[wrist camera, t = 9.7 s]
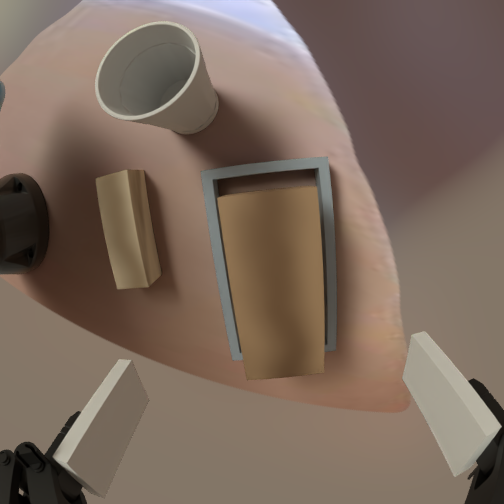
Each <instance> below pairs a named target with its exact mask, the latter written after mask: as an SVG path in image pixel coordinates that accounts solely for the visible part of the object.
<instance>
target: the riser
mask: <svg viewBox="0 0 504 504" xmlns="http://www.w3.org/2000/svg"><path fill="white" fill-rule="evenodd" d="M95 179H96V187H97V195H98V201H99V208H100V214H101V219H102V225H103V230H104V235H105V240H106V245H107V250H108V254H109V258H110V263H111V267H112V271H113V275H114V278H115V282H116V286H117V289H130V288H145V287H149V286H150V285H151V284H152V283H154V282H155V281H156V280H157V279H158V278H159V277H160V276H161V275H162V272H161V268H160V263H159V258H158V253H157V248H156V243H155V238H154V232H153V227H152V221H151V215H150V209H149V203H148V196H147V189H146V182H145V175H144V170H123V171H120V172H116V173H112V174H109V175H105V176H102V177H99V178H95Z"/></svg>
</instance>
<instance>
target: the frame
mask: <svg viewBox="0 0 504 504" xmlns="http://www.w3.org/2000/svg"><path fill="white" fill-rule="evenodd" d="M305 169H314V171H315V180H316V187H317V192H318V202H319V214H320V227H321V241H322V258H323V280H324V324H325V343H324V352H328V351H335V350H336V334H337V275H336V247H335V228H334V214H333V201H332V190H331V180H330V171H329V162H328V157H314V158H301V159H289V160H279V161H269V162H260V163H252V164H244V165H237V166H230V167H223V168H216V169H210V170H204V171H201V177H202V185H203V192H204V199H205V206H206V213H207V220H208V226H209V233H210V239H211V246H212V252H213V258H214V264H215V270H216V276H217V281H218V287H219V293H220V298H221V304H222V309H223V315H224V320H225V325H226V330H227V335H228V340H229V345H230V350H231V355H232V360H243V357H242V351H241V346H240V340H239V334H238V328H237V323H236V317H235V311H234V305H233V299H232V293H231V287H230V280H229V274H228V268H227V261H226V255H225V248H224V242H223V235H222V228H221V221H220V214H219V207H218V200H217V198H218V197H219V191H218V183H217V180H218V179H225V178H232V177H240V176H247V175H256V174H264V173H273V172H283V171H294V170H305Z"/></svg>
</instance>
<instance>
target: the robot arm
mask: <svg viewBox="0 0 504 504" xmlns="http://www.w3.org/2000/svg"><path fill="white" fill-rule="evenodd" d="M4 98H5V86H4V84H3V83H2V82H1V81H0V110H1V107H2V104H3V101H4ZM48 236H49V224H48V215H47V209H46V205H45V201H44V198H43V195H42V193H41V191H40V189H39V187H38V185H37V184H36V182H35V181H34V180H33V179H32V178H31V177H30V176H28V175H26V174H23V173H18V174H9V175H6V176H4V177H3V178H1V179H0V274H24V273H27V272H29V271H31V270H33V269H35V268H36V267H37V266H39V264H40V263H41V262H42V260H43V258H44V256H45V253H46V249H47V245H48ZM402 379H403V381H404V382H405V384H406V386H407V388H408V389H409V391H410V393H411V395H412V396H413V398H414V400H415V402H416V403H417V405H418V407H419V409H420V410H421V412H422V414H423V416H424V418H425V420H426V422H427V423H428V425H429V427H430V429H431V431H432V433H433V435H434V437H435V439H436V440H437V443H438V445H439V446H440V448H441V450H442V452H443V454H444V457H445V459H446V460H447V463H448V465H449V467H450V469H451V471H452V473H453V475H454V477H455V476H457V475H459V474H461V473H462V472H464V471H466V470H468V469H469V468H470V467H471V466H472V465H473V464H474V463H475V461H476V462H477V464H478V466H477V467H476V468H475V469H474V471H473V472H472V473H471V474H470V475H469V477H468V479H470V478H471V477H472V476H473V475H474V477H473V480H472V484H471V486H470V489H469V493H468V495H467V498H466V501H465V504H504V410H503V409H502V407H501V406H500V405H499V403H498V402H497V401H496V400H495V399H494V397H493V396H492V395H491V393H489V391H488V390H487V389H486V387H485V386H484V385H483V384H482V383H480V382H479V381H477V380H475V379H471V380H469V381H467V380H466V379H465V377H464V376H463V375H462V374H461V373H460V371H459V370H458V369H457V368H456V366H454V364H453V363H452V362H451V360H450V359H449V358H448V357H447V356H446V355H445V353H444V352H443V351H442V350H441V349H440V348H439V346H437V344H436V343H435V342H434V341H433V340H432V339H431V338H430V336H429V335H428V334H427V333H426V332H425V331H423V332H420V333H416V334H412V335H411V341H410V346H409V351H408V356H407V360H406V365H405V369H404V373H403V377H402ZM148 402H149V398H148V396H147V394H146V392H145V390H144V388H143V386H142V383H141V381H140V378H139V376H138V375H137V372H136V369H135V367H134V364H133V362H132V360H123V359H119V360H118V361H117V363H116V364H115V365H114V367H113V368H112V369H111V371H110V372H109V374H108V375H107V376H106V378H105V379H104V381H103V382H102V383H101V385H100V386H99V388H98V389H97V391H96V392H95V393H94V395H93V396H92V398H91V399H90V401H89V402H88V404H87V405H86V406H85V408H84V409H83V411H82V412H79V411H78V412H76V413H75V414H74V415H73V416H71V417H70V418H69V419H68V421H67V422H66V424H65V427H63V428H62V430H61V433H59V434H58V436H57V437H56V439H55V440H54V442H53V443H52V445H51V446H50V448H49V449H48V451H47V452H46V454H45V455H43V453H41V451H40V450H39V449H38V448H37V447H36V446H35V445H34V444H33V443H31V442H24V443H21V444H20V445H18V446H17V448H16V449H15V451H14V453H13V452H12V451H10V450H3V451H1V452H0V504H87V502H86V499H85V496H84V494H83V492H82V491H81V489H82V487H84V488H85V489H86V490H88V492H90V493H91V494H94V495H97V496H99V497H102V498H105V496H106V494H107V492H108V489H109V487H110V485H111V483H112V480H113V478H114V476H115V473H116V471H117V469H118V467H119V464H120V462H121V460H122V458H123V456H124V453H125V451H126V449H127V446H128V445H129V442H130V440H131V438H132V436H133V434H134V431H135V429H136V427H137V425H138V423H139V421H140V419H141V416H142V414H143V412H144V410H145V408H146V406H147V404H148ZM19 488H20V489H21V490H23V491H24V494H23V496H22V495H21V494H19Z"/></svg>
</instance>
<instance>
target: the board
mask: <svg viewBox="0 0 504 504" xmlns="http://www.w3.org/2000/svg"><path fill="white" fill-rule="evenodd" d="M217 200H218V207H219V214H220V221H221V228H222V235H223V242H224V248H225V255H226V261H227V268H228V274H229V280H230V287H231V293H232V299H233V305H234V311H235V317H236V323H237V328H238V334H239V340H240V346H241V351H242V357H243V362H244V368H245V373H246V378H247V380H258V379H272V378H283V377H293V376H302V375H311V374H318V373H324V343H325V324H324V280H323V258H322V241H321V227H320V214H319V202H318V192H317V187H315V186H299V187H288V188H278V189H269V190H260V191H252V192H244V193H236V194H228V195H224V196H221V197H218V198H217Z"/></svg>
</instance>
